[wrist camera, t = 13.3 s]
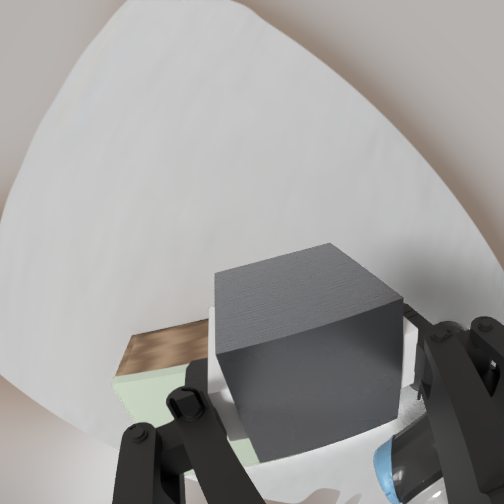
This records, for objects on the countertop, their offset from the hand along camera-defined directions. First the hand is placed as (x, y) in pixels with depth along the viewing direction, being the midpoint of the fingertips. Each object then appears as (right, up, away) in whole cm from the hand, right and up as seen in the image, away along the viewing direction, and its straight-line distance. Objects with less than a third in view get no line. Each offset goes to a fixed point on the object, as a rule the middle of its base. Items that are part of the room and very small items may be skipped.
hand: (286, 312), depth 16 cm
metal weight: (0, 0, 0) cm, 0 cm away
